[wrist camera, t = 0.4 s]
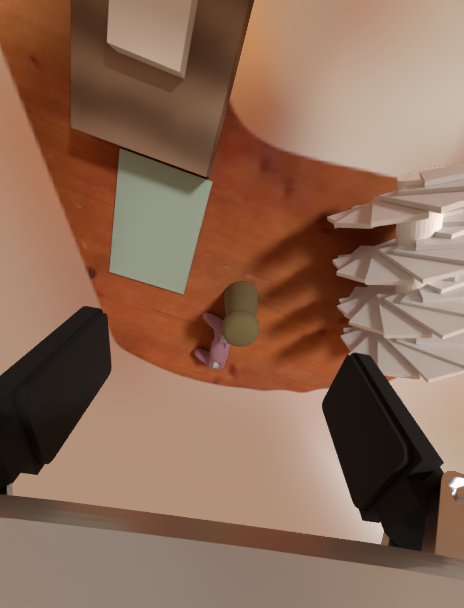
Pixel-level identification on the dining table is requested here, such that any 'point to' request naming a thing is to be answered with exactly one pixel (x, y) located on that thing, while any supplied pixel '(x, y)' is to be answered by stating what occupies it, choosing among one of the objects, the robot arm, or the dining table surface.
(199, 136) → the board
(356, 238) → the dining table surface
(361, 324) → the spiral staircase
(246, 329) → the cork
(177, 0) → the tile
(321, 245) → the dining table surface
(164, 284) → the mat
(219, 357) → the video game controller
